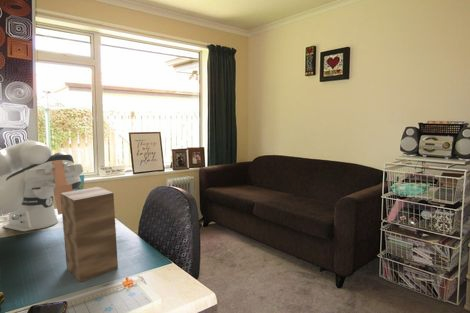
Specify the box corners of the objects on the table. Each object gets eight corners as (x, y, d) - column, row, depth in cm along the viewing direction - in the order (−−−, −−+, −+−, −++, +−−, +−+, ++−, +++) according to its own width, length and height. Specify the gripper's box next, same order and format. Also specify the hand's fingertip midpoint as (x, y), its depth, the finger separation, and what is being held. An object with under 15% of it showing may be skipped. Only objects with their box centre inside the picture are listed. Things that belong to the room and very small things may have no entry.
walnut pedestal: (66, 268, 104) (60, 193, 100) (102, 256, 112) (97, 186, 108) (80, 282, 95) (74, 200, 92) (117, 268, 104) (113, 192, 100)
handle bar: (48, 162, 118) (51, 159, 114) (62, 161, 121) (66, 158, 118) (58, 214, 116) (62, 213, 112) (72, 211, 119) (76, 210, 116)
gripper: (79, 181, 133) (89, 169, 124) (23, 190, 118) (29, 177, 109) (75, 168, 134) (85, 155, 125) (19, 175, 119) (26, 161, 110)
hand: (59, 165), depth 117 cm, fingers closed on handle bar, 3 cm apart
